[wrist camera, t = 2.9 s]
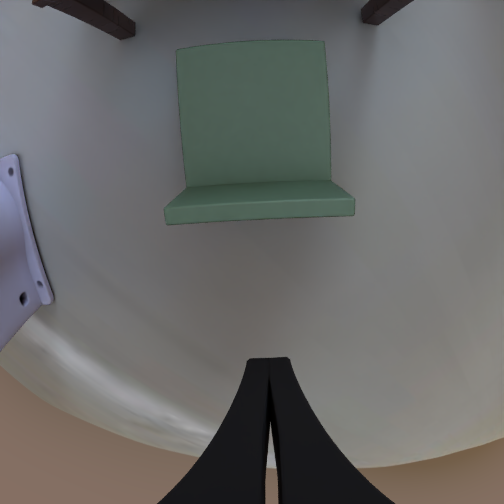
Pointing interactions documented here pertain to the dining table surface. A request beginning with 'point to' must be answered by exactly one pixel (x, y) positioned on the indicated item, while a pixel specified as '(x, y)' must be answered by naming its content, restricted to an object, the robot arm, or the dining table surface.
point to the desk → (121, 27)
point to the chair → (255, 133)
